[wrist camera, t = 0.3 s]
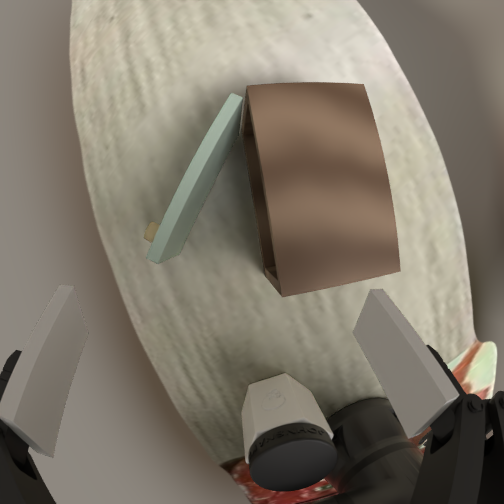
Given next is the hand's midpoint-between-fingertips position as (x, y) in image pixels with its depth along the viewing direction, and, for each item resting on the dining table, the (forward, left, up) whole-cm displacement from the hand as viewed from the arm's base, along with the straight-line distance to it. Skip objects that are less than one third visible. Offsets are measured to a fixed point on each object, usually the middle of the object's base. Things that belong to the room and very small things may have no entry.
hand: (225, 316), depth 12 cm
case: (+6, -9, -18) cm, 21 cm away
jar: (-18, -3, -18) cm, 26 cm away
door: (+9, +2, -17) cm, 19 cm away
